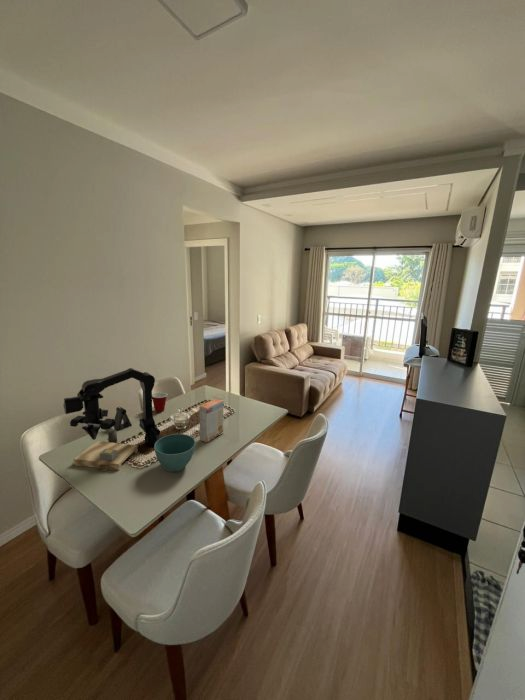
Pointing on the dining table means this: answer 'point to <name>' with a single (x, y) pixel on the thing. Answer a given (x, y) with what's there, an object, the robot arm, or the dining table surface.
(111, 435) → the bottle
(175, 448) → the teal bowl
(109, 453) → the stud finder
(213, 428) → the cracker box
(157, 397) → the plastic cup
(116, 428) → the phone stand
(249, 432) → the dining table surface
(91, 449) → the wooden board
